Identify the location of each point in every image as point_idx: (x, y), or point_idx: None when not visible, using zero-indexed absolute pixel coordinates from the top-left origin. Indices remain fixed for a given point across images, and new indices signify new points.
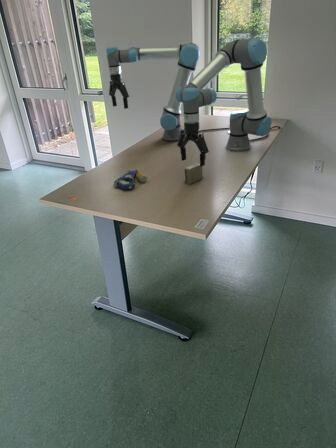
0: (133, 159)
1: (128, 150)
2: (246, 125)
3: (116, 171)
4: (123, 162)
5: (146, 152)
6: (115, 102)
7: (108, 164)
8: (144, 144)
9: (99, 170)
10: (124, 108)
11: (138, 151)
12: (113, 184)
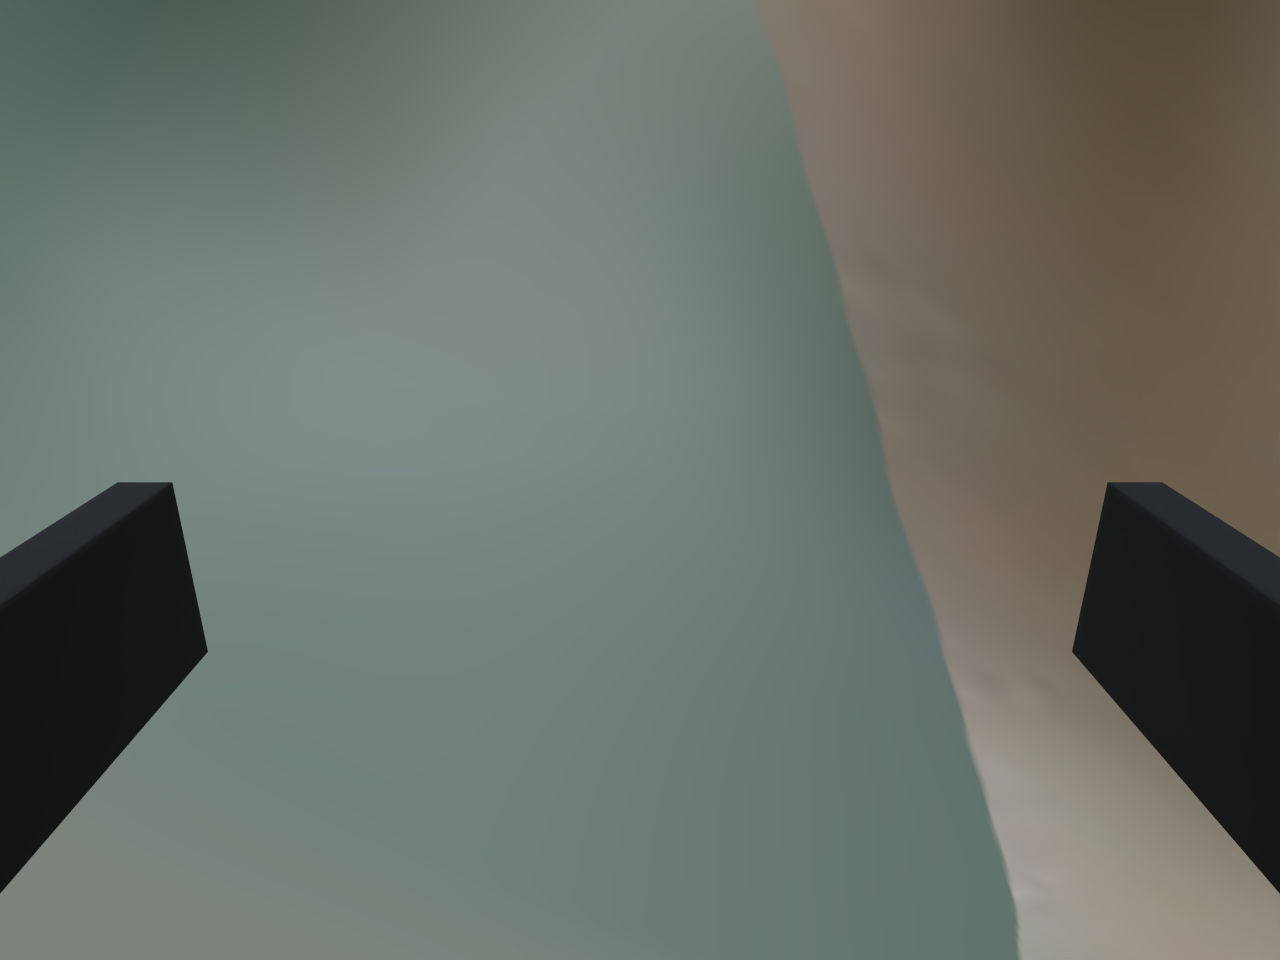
0: None
1: (879, 418)
2: None
3: None
4: None
5: (1208, 309)
6: (74, 613)
7: (1037, 829)
8: (895, 55)
9: (1078, 950)
10: (1089, 658)
11: (1057, 355)
12: None
